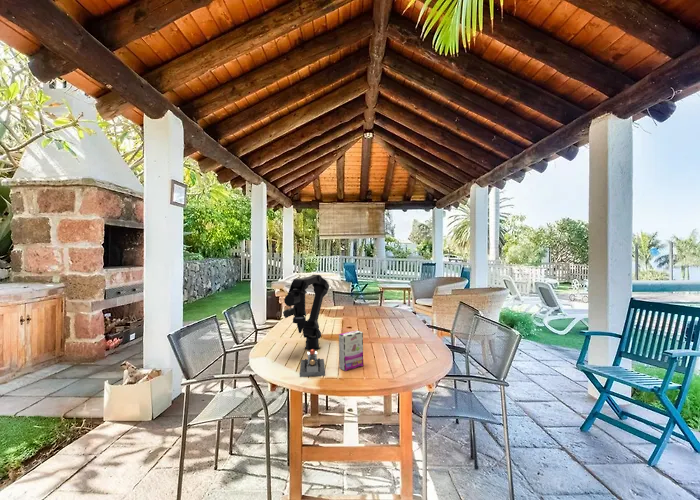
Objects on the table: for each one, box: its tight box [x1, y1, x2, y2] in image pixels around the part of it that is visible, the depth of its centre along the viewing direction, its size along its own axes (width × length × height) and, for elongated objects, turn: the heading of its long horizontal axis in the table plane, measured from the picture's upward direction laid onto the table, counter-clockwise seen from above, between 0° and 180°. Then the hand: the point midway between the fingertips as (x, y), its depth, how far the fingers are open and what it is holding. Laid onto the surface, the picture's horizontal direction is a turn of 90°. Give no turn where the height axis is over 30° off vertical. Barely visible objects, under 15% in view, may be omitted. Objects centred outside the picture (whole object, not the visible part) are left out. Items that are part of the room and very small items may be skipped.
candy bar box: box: [338, 330, 364, 372], centre depth 161 cm, size 11×5×16 cm, turn 126°
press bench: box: [299, 357, 326, 378], centre depth 158 cm, size 16×11×7 cm, turn 6°
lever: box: [307, 349, 318, 364], centre depth 155 cm, size 3×4×9 cm
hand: (299, 332), depth 178 cm, fingers closed
